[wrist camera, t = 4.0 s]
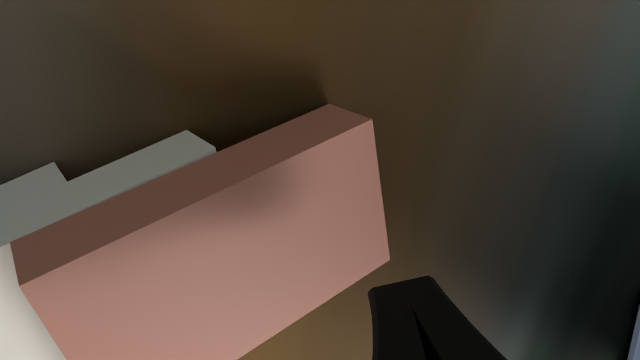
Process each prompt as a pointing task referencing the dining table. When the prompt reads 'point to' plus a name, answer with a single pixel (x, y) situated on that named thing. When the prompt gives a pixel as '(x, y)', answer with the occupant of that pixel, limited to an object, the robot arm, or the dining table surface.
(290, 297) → the domino
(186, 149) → the domino
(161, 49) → the dining table surface
